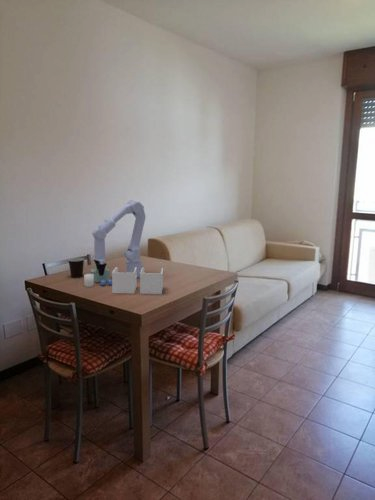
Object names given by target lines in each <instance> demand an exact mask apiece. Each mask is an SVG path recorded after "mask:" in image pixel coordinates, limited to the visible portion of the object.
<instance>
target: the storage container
mask: <svg viewBox="0 0 375 500" xmlns="http://www.w3.org/2000/svg"><path fill="white" fill-rule="evenodd" d="M111 278H112V279H111V280H112V285H111V287H112V289H111V290H112V291H111V292H112V294H135V292H136V290H137V286H138V285H137V282H138V280H137V279H138V278H137V267H134V273H126V272H119V266H116V267H114V269H113V270H112V271H111ZM163 283H164V268H163V267H161V268H160V273H159V272H155V273H154V272H147V273H146V272H145V267H143V268H142V270H141V272H140V277H139V293H140V294H141V295H142V294H144V295H145V294H146V295H162V294H163V288H164V285H163Z"/></svg>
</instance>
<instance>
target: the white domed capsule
mask: <svg viewBox="0 0 375 500" xmlns="http://www.w3.org/2000/svg"><path fill="white" fill-rule="evenodd" d="M83 279H84V281H83V283H84V287H85V288H90V287H91V288H92V287H94V286H95V282H94V274H90V273H85V274H83Z"/></svg>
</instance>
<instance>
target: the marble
mask: <svg viewBox="0 0 375 500" xmlns="http://www.w3.org/2000/svg"><path fill="white" fill-rule="evenodd" d="M99 284H100V285H101V286H106V284H107V281H105V280H102V281H101V282H99Z"/></svg>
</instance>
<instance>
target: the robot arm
mask: <svg viewBox="0 0 375 500" xmlns="http://www.w3.org/2000/svg"><path fill="white" fill-rule="evenodd" d="M129 214H132V215H133V216H134V218H135V221H134V224H133V229H132V233H131V238H130V243H129V245H128V246H127V248H126V250H125V251H124V257H125V259H126V260H125V263H126V265H125V273H134V267H137V279H138V278H139V279H140V272H141V270H142V268H144V267H143V266H144V265H143V264H144V263H143V261H140V260H141V249H140V243H141V239H142V236H143V235H142V234H143V230H144V225H145V221H146V214H145V206H144V205H143V204H142V203H141V202H139V201H135V200H129V201H127V203H125V204H124V205H123V206H122V207H121V208H120V209H119V210H118V211H117V212H116V214H114V216H112V217H111V218H107V219H104V222H102V224H101V225H98V227H97V228H95V229H94V230H93V232H92V236H93V239H94V241H93V242H94V243H93V245H94V249H93V250H94V257H92V260H93V261H94V263H95V264H94V265H95V267H96V269H98V271H99V275H100V276H103V275H104V270H105V268H107V265H108V263H106V262H105V261H106V259H107V258H106V241H105V240H106V239H105V238H107V235H108V234H109V233H110V231H112V230H113V229H114V228H115V227H116V224H117V223H118V222H119V221H120V220H121V219H122V218H123V217H124V216H126V215H129Z"/></svg>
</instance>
